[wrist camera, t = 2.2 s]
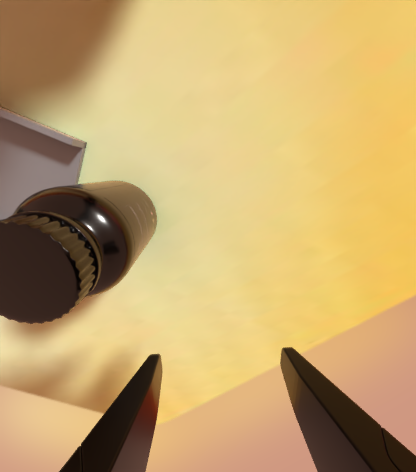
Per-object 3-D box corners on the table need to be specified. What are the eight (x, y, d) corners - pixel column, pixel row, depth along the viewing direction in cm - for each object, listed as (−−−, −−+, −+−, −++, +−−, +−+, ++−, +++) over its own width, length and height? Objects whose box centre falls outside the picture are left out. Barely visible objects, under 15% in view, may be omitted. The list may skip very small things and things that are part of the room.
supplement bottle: (95, 251, 21) (-36, 347, 9) (80, 181, 19) (-111, 195, 7) (162, 248, 21) (116, 339, 9) (155, 178, 19) (83, 187, 7)
